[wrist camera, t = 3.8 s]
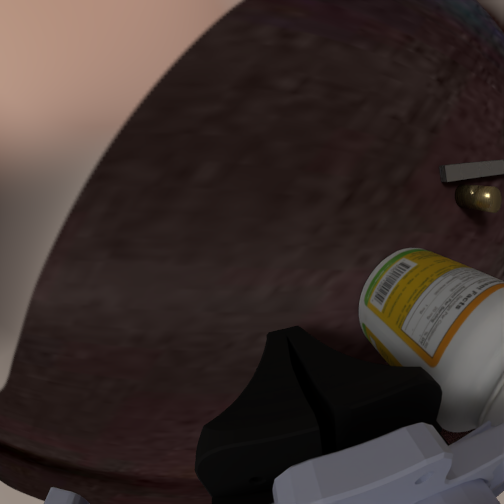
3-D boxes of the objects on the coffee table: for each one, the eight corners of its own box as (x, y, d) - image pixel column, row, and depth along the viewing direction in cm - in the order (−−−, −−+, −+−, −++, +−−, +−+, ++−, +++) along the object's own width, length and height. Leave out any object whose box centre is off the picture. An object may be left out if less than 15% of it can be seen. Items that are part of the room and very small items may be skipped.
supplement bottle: (433, 335, 14) (544, 435, 4) (351, 353, 14) (448, 505, 4) (447, 242, 13) (602, 304, 3) (358, 249, 13) (539, 357, 3)
